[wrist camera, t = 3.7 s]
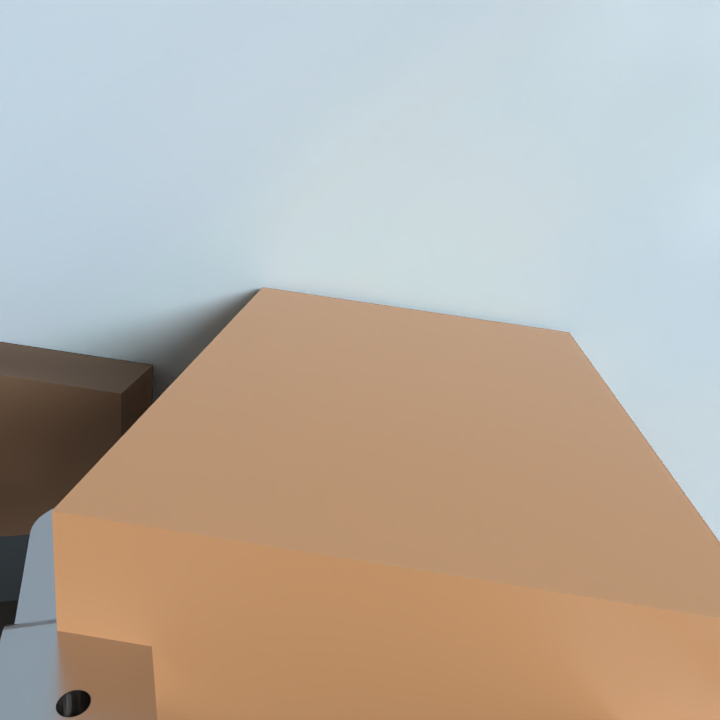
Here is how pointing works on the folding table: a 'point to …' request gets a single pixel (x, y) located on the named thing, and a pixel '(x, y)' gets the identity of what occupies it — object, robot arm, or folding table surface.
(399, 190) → the folding table surface
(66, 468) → the post board
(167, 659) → the tan wooden cube
